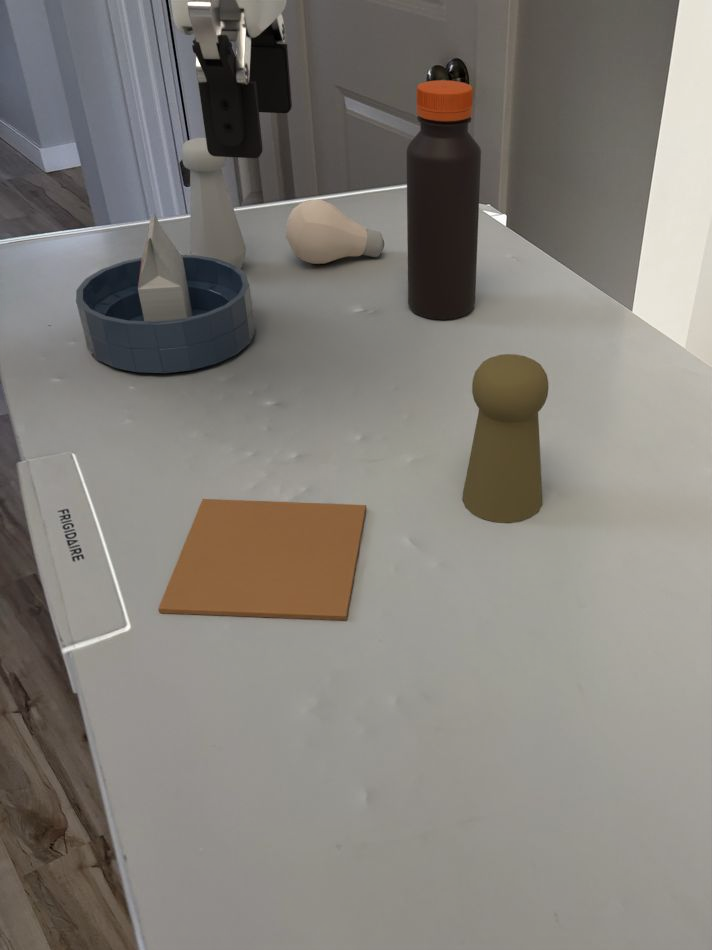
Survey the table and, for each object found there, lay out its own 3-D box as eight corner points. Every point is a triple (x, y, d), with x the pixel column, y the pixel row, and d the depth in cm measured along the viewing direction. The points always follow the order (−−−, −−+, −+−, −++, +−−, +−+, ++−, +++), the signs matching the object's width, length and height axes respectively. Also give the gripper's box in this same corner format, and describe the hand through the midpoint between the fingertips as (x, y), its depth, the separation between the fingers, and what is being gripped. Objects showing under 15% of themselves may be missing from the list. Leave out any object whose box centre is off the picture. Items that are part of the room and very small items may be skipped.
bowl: (65, 374, 82) (50, 320, 79) (117, 301, 93) (106, 252, 90) (236, 380, 82) (228, 327, 79) (268, 306, 93) (262, 257, 90)
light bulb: (386, 202, 103) (289, 180, 98) (398, 235, 99) (297, 214, 94) (370, 255, 107) (276, 236, 103) (380, 288, 103) (283, 270, 99)
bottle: (487, 303, 95) (498, 85, 82) (451, 327, 91) (457, 101, 77) (431, 287, 98) (433, 73, 84) (394, 310, 93) (390, 88, 80)
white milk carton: (192, 317, 90) (174, 212, 83) (192, 349, 85) (172, 240, 79) (153, 320, 90) (132, 214, 83) (151, 352, 85) (127, 242, 78)
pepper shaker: (458, 476, 71) (462, 343, 64) (536, 474, 72) (549, 342, 64) (466, 524, 67) (471, 387, 60) (549, 521, 67) (564, 384, 60)
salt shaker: (240, 257, 102) (223, 129, 94) (255, 276, 99) (239, 145, 90) (187, 265, 100) (165, 136, 92) (201, 285, 97) (179, 152, 88)
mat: (159, 613, 59) (158, 608, 59) (203, 503, 68) (202, 498, 68) (346, 620, 59) (346, 616, 59) (366, 509, 68) (366, 504, 68)
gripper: (186, -230, 54) (226, 94, 66) (84, -231, 41) (155, 173, 53) (314, -225, 54) (331, 99, 65) (251, -225, 41) (286, 179, 53)
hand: (253, 132), depth 59 cm, fingers open, 9 cm apart
